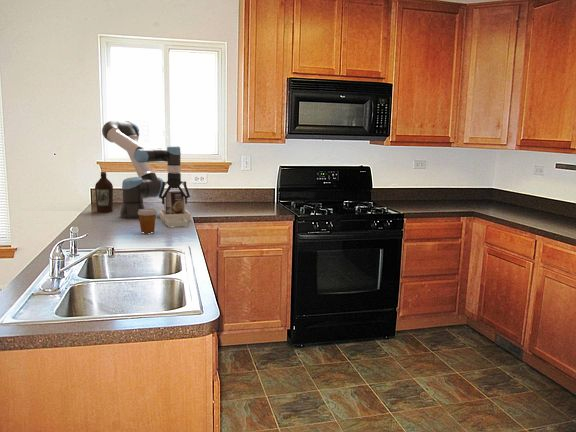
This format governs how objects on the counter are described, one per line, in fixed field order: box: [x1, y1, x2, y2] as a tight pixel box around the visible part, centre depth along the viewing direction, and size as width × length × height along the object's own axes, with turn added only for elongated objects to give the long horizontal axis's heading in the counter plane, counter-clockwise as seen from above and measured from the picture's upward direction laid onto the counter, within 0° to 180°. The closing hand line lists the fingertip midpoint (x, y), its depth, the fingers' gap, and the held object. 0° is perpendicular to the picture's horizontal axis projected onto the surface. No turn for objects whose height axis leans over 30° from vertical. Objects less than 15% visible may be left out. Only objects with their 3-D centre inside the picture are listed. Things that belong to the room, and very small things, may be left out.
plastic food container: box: [158, 208, 192, 222], centre depth 296 cm, size 16×17×4 cm
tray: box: [164, 217, 189, 228], centre depth 278 cm, size 11×14×3 cm
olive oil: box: [94, 171, 114, 213], centre depth 312 cm, size 11×11×25 cm
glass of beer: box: [138, 208, 158, 233], centre depth 254 cm, size 10×10×12 cm
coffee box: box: [165, 190, 184, 214], centre depth 295 cm, size 9×6×16 cm
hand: (174, 209), depth 296 cm, fingers closed on coffee box, 11 cm apart
